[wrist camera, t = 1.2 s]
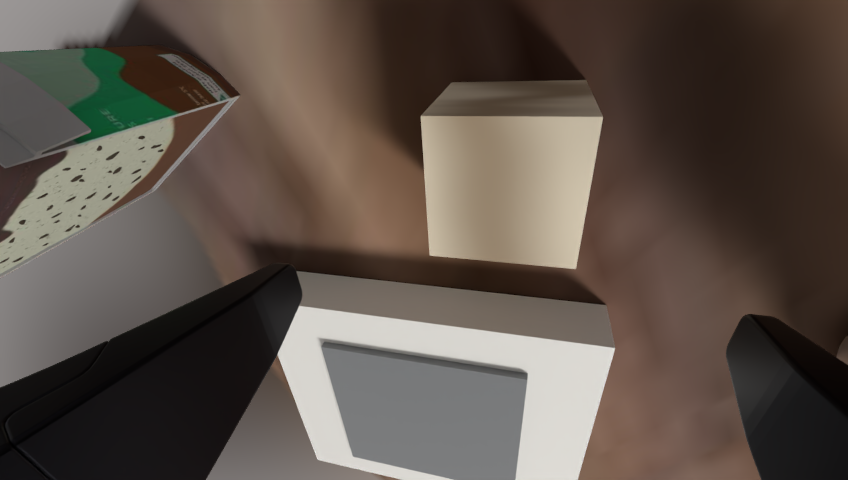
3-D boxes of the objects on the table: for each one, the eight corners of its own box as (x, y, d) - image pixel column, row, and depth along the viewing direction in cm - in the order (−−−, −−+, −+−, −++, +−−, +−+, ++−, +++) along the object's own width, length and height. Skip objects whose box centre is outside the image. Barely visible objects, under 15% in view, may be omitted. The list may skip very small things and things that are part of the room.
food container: (145, -61, 15) (-291, -109, 7) (258, 75, 17) (10, 156, 9) (53, 116, 22) (-240, 196, 13) (144, 202, 23) (-65, 318, 15)
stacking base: (606, 305, 19) (616, 355, 17) (564, 474, 28) (566, 525, 25) (284, 269, 24) (252, 305, 21) (333, 426, 32) (315, 464, 30)
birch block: (585, 79, 14) (603, 116, 10) (567, 201, 17) (575, 268, 13) (452, 81, 16) (420, 115, 12) (454, 195, 18) (429, 255, 14)
